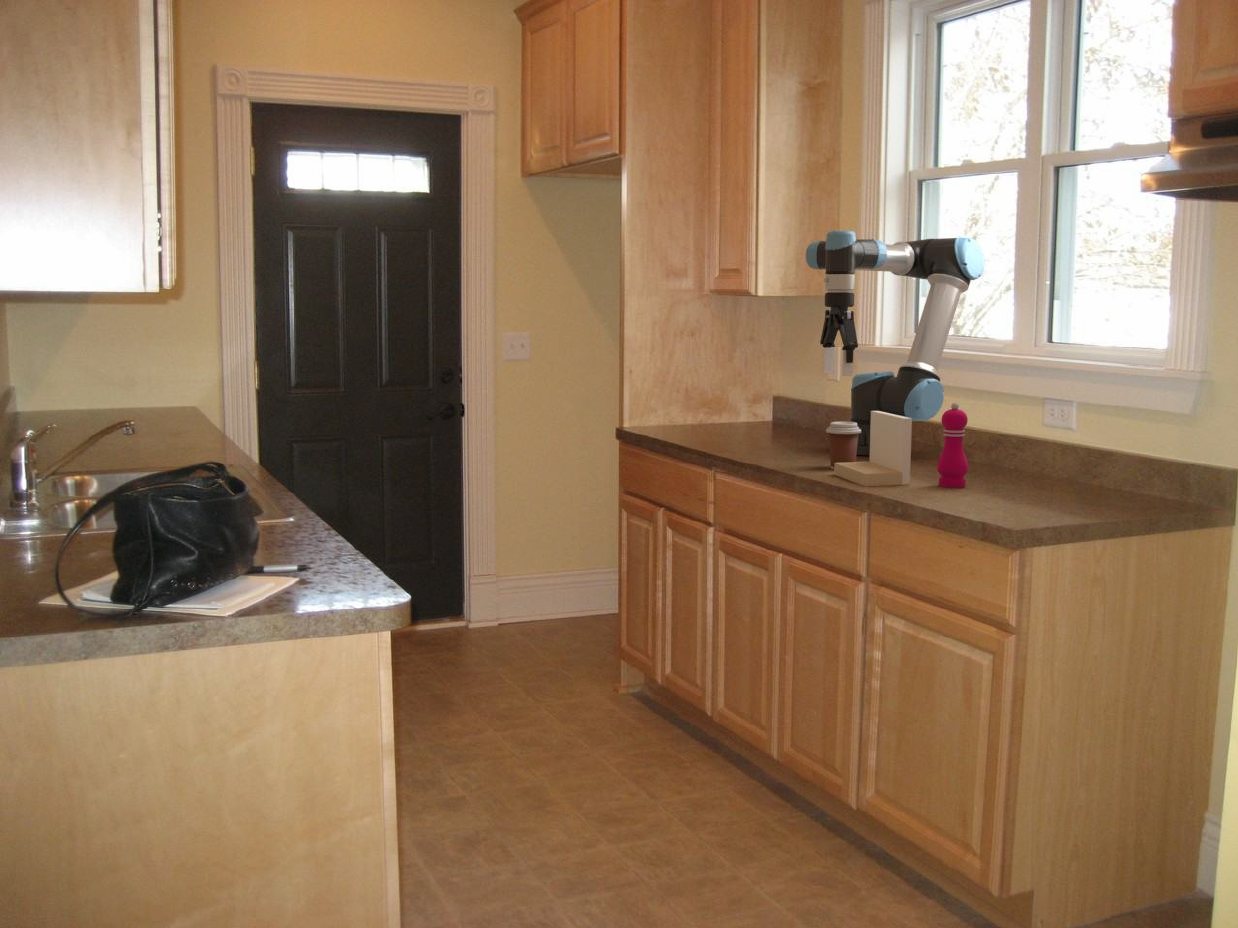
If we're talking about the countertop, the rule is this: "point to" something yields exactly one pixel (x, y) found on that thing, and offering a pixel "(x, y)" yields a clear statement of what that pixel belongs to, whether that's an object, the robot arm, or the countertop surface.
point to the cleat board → (883, 453)
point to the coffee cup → (843, 442)
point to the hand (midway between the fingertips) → (837, 374)
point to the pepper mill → (953, 449)
